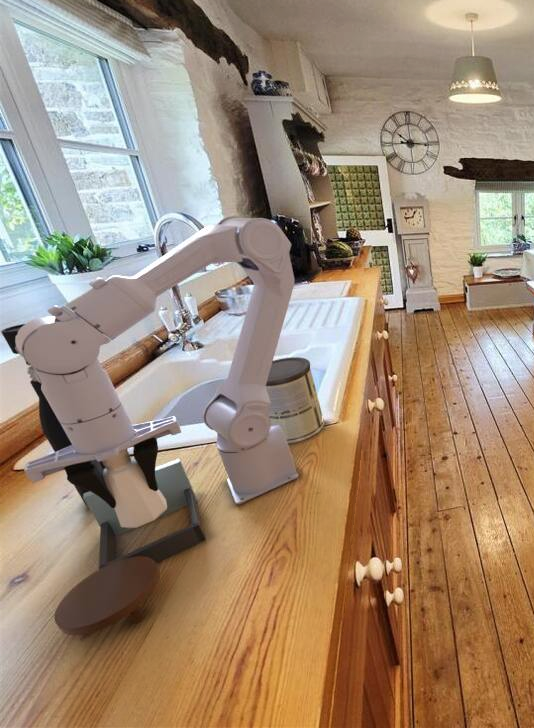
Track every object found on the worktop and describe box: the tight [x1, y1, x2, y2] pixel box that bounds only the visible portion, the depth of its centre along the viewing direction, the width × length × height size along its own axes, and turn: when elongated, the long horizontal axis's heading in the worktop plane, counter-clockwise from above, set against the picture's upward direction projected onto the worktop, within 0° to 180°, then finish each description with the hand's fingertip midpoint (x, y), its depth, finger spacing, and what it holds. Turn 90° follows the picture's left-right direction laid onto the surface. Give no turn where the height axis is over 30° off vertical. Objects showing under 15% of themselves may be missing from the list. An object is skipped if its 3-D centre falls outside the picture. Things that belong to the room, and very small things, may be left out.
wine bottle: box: [0, 323, 105, 509], centre depth 62 cm, size 6×6×30 cm
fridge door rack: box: [83, 458, 206, 570], centre depth 58 cm, size 11×11×8 cm
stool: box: [53, 556, 161, 636], centre depth 49 cm, size 9×9×4 cm
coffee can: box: [266, 356, 325, 445], centre depth 82 cm, size 10×10×14 cm
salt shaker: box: [102, 449, 167, 529], centre depth 56 cm, size 5×5×11 cm
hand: (135, 495), depth 56 cm, fingers closed on salt shaker, 3 cm apart
